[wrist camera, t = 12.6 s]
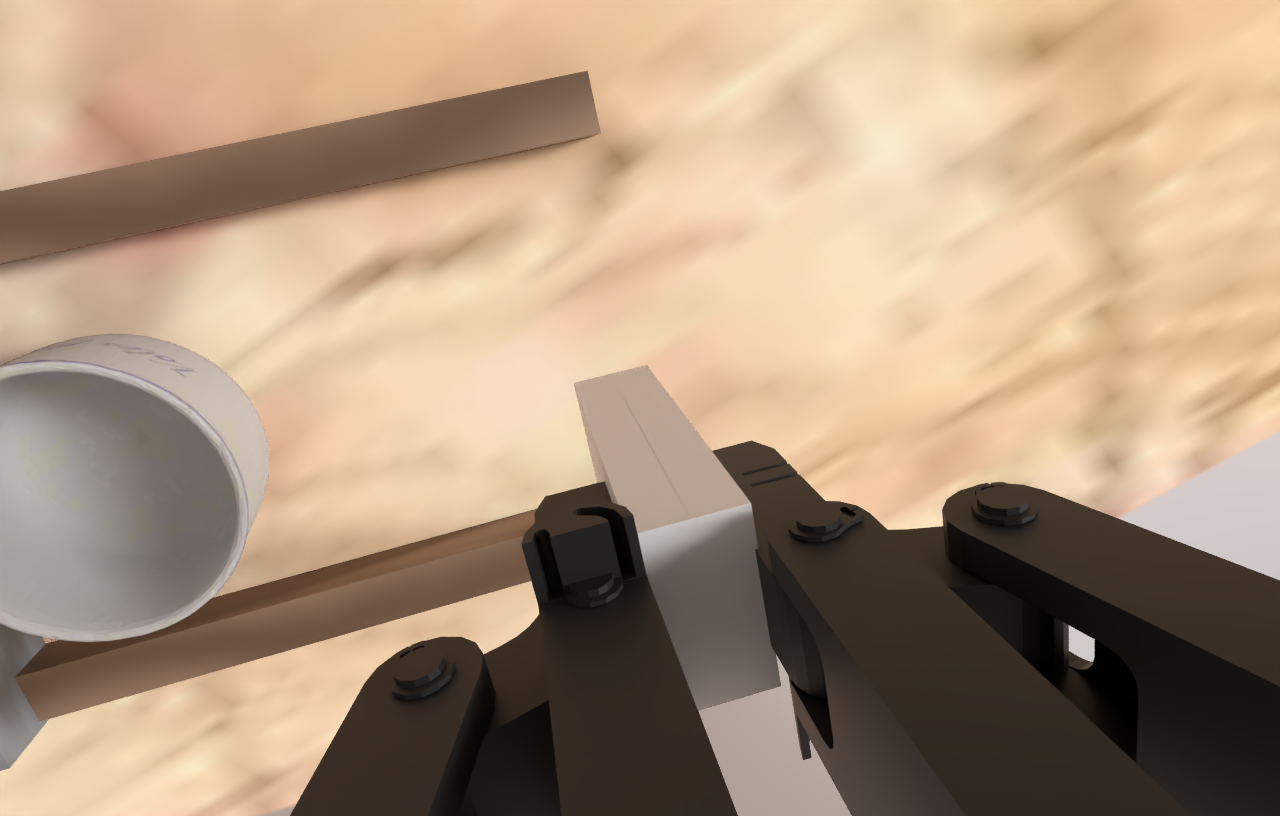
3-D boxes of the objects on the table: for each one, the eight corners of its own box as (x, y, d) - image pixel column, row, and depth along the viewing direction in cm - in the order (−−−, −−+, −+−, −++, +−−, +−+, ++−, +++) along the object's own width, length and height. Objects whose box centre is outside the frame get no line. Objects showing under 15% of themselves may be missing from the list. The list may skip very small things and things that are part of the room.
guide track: (-253, 241, 29) (-396, 253, 24) (578, 71, 33) (594, 53, 28) (17, 706, 36) (-53, 785, 31) (674, 520, 40) (700, 566, 35)
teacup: (239, 290, 33) (167, 324, 25) (328, 512, 36) (288, 600, 29) (-108, 376, 31) (-296, 439, 24) (20, 599, 35) (-108, 716, 27)
